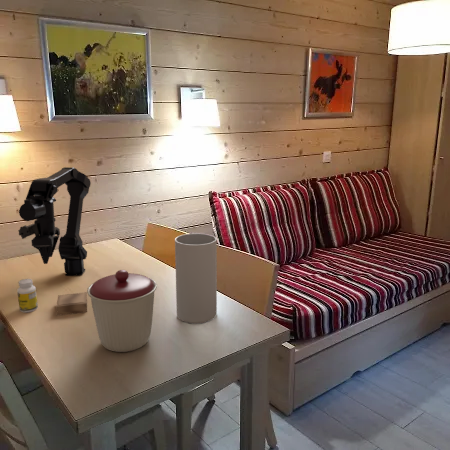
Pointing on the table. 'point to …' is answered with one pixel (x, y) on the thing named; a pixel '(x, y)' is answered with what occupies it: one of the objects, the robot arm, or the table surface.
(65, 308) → the square wooden block
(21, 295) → the supplement bottle
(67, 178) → the robot arm
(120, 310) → the canister
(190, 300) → the cylinder vase
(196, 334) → the table surface
